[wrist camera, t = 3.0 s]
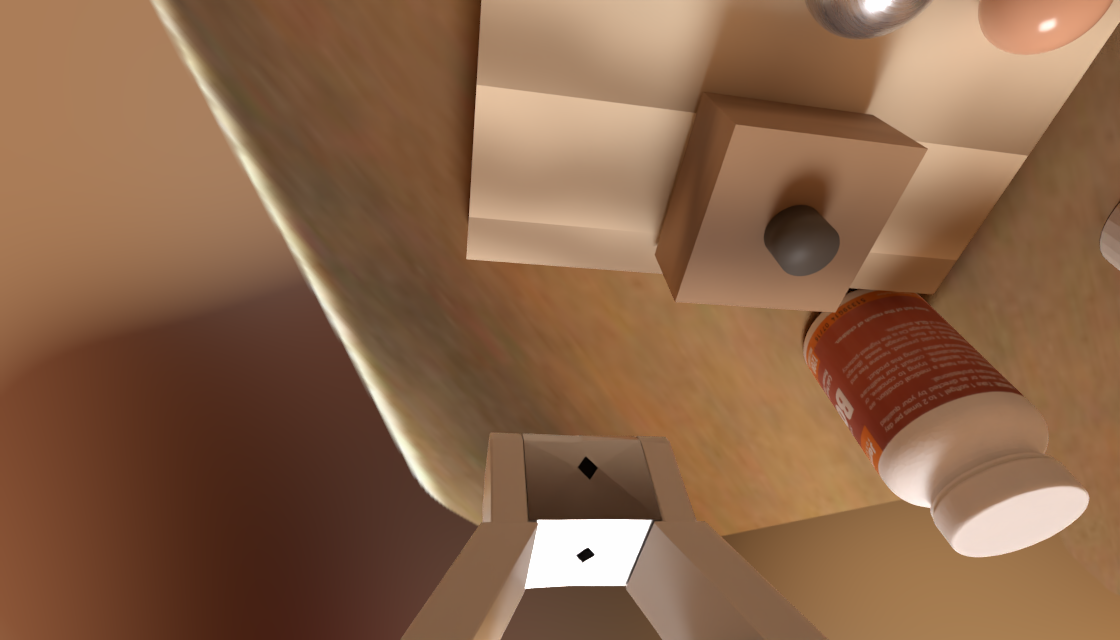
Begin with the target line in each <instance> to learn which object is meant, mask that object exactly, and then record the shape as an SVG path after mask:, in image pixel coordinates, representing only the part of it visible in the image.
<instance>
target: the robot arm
mask: <svg viewBox="0 0 1120 640" xmlns="http://www.w3.org/2000/svg"><path fill="white" fill-rule="evenodd" d="M574 585H576V586H578V585H579V586H583V585H585V586H590V585H591V586H596V585H597V586H600V585H601V586H627V587H626V589H627V591H628V592H629V594H630V595H631V596H632V598H633V599H634V601H635V602H636V603H637V605H638V606H639V607H640V609H641V610H642V612H643V613H644V614H645V616H646V617H647V619H648V620H649V621H650V623H651V624H652V626H653V627H654V628H655V630H656V631H657V632H658V634H659V635H660V637H661V638H662V639H663V640H828V639H827V638H826V637H825V636H824V635H823V634H822V633H821V632H820V631H819V630H818V629H817V628H816V627H815V626H814V625H813V624H812V623H811V622H810V621H808V619H806V618H805V617H804V616H803V615H802V614H801V613H800V612H799V611H798V610H797V609H796V608H795V607H794V606H793V605H792V604H791V603H790V602H789V601H788V600H787V599H786V598H785V597H783V596H782V595H781V594H780V593H779V592H778V591H777V590H776V589H775V588H774V587H773V586H772V585H771V584H770V583H769V582H768V581H767V580H766V579H765V578H764V577H763V576H762V575H761V574H760V573H758V572H757V571H756V570H755V569H754V568H753V567H752V566H751V565H750V564H749V563H748V562H747V561H746V560H745V559H744V558H743V557H742V556H741V555H740V554H739V553H737V551H735V550H734V549H733V548H732V547H731V546H730V545H729V544H728V543H727V542H726V541H725V540H724V539H723V538H722V537H721V536H720V535H719V534H718V533H717V532H716V531H715V530H714V529H713V528H712V527H710V526H709V525H708V524H707V523H706V522H705V521H696V518H695V515H694V512H693V509H692V506H691V503H690V500H689V498H688V495H687V492H686V489H685V486H684V483H683V480H682V477H681V474H680V471H679V468H678V465H677V462H676V459H675V456H674V453H673V450H672V447H671V445H670V442H669V441H668V439H667V438H666V437H646V436H637V437H635V436H602V435H579V436H565V435H544V434H524V433H522V434H516V433H491V434H490V436H489V444H488V453H487V462H486V470H485V482H484V496H483V522H481V524H480V525H479V527H478V528H477V530H476V531H475V533H474V534H473V535H472V537H471V538H470V540H469V541H468V542H467V544H466V545H465V547H464V548H463V550H462V551H461V553H460V554H459V556H458V557H457V558H456V560H455V561H454V563H453V564H452V566H451V567H450V569H449V570H448V571H447V573H446V574H445V576H444V577H443V579H442V580H441V582H440V583H439V584H438V586H437V587H436V589H435V590H434V592H433V593H432V595H431V596H430V598H429V599H428V600H427V602H426V604H425V605H424V606H423V608H422V609H421V611H420V612H419V614H418V615H417V616H416V618H415V619H414V621H413V622H412V624H411V625H410V627H409V628H408V629H407V631H406V632H405V634H404V635H403V637H402V638H401V640H500V639H501V637H502V635H503V633H504V631H505V629H506V627H507V625H508V623H509V621H510V619H511V617H512V615H513V613H514V611H515V609H516V607H517V605H518V603H519V601H520V599H521V597H522V595H523V593H524V591H525V588H538V587H556V586H574Z"/></svg>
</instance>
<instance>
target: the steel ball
mask: <svg viewBox="0 0 1120 640" xmlns="http://www.w3.org/2000/svg"><path fill="white" fill-rule="evenodd" d="M933 1H934V0H805V3H806V6H807V8H808V10H809V12H810V14H811V15H812V16H813V18H814V19H815V21H816V22H817V23H818V24H819V25H820V26H821V27H823V28H824V29H826V30H827V31H829V32H830V33H832V34H834V35H837V36H840V37H844V38H848V39H871V38H875V37H880V36H883V35H886V34H889V33H891V32H893V31H896V30H898V29H900V28H902V27H903V26H905V25H906V24H908V23H910V22H911V21H912V20H914V19H915V18H916V17H918V16H919V15H920V14H921V13H922V12H923V11H924V10H925V9H926V8H927V7H928V6H929V5H930V4H931V3H932V2H933Z"/></svg>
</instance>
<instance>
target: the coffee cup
mask: <svg viewBox="0 0 1120 640" xmlns="http://www.w3.org/2000/svg"><path fill="white" fill-rule="evenodd" d="M1100 250H1101V252H1102V255H1103V256H1104V257H1105V258H1106V259H1107V260H1108V261H1109V262H1110V263H1111V264H1112V265H1114V266H1115V267H1116V268H1117V269H1119V270H1120V203H1119V204H1118V205H1117V206H1116V208H1115V209H1114V211H1113V212H1112V214H1111V215H1110V217H1109V218H1108V220H1107V222H1106V224H1105V226H1104V228H1103V230H1102V234H1101V238H1100Z"/></svg>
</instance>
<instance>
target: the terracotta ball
mask: <svg viewBox="0 0 1120 640" xmlns="http://www.w3.org/2000/svg"><path fill="white" fill-rule="evenodd" d="M1112 2H1113V0H980V1H979V6H978V21H979V25H980V28H981V31H982V33H983V35H984V36H985V38H986V39H987V40H988V41H989V42H990V43H991V44H992V45H994V46H995V47H996V48H998V49H1000V50H1002V51H1004V52H1008V53H1012V54H1016V55H1035V54H1041V53H1046V52H1049V51H1053V50H1056V49H1058V48H1061V47H1063V46H1065V45H1067V44H1069V43H1071V42H1073V41H1075V40H1076V39H1078V38H1079V37H1081V36H1082V35H1083V34H1085V33H1086V32H1087V31H1089V30H1090V29H1091V28H1092V27H1093V26H1094V25H1095V24H1096V23H1097V22H1098V21H1099V20H1100V19H1101V18H1102V17H1103V15H1104V14H1105V13H1106V12H1107V10H1108V9H1109V7H1110V6H1111V4H1112Z"/></svg>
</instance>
